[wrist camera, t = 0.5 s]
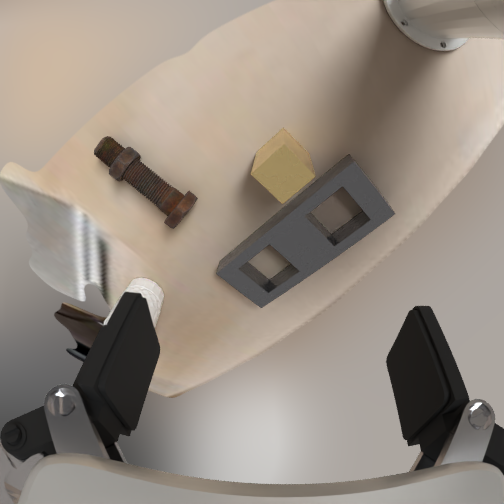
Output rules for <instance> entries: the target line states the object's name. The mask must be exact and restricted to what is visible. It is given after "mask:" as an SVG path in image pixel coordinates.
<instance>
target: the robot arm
mask: <svg viewBox="0 0 504 504" xmlns="http://www.w3.org/2000/svg"><path fill="white" fill-rule="evenodd" d="M383 1H384V5H385V7H386V10H387V12H388V14H389V16H390V17H391V19H392V21H393V22H394V23H395V24H396V26H397V27H398V28H399V29H400V30H401V31H402V32H403V33H404V34H405V35H406V36H407V37H408V38H410V39H411V40H413V41H414V42H416V43H417V44H419V45H421V46H423V47H426V48H429V49H432V50H438V51H449V50H454V49H457V48H459V47H461V46H462V45H464V44H465V43H466V42H467V40H468V39H469V38H490V39H504V0H383ZM401 22H402V23H403V25H402V24H401ZM440 43H441V45H440ZM159 354H160V345H159V342H158V338H157V335H156V332H155V328H154V325H153V321H152V318H151V314H150V310H149V307H148V303H147V300H146V298H143V297H142V294H141V293H134V292H124V293H123V295H122V297H121V298H120V300H119V302H118V304H117V306H116V308H115V309H114V311H113V313H112V315H111V317H110V319H109V321H108V322H107V324H106V325H104V326H103V327H102V328H101V329H100V331H99V333H98V335H97V337H96V339H95V341H94V343H93V345H92V347H91V349H90V351H89V353H88V355H87V357H86V359H85V361H84V363H83V365H82V367H81V369H80V371H79V373H78V375H77V378H76V380H75V382H74V384H73V386H71V385H68V384H61V385H57V386H55V387H53V388H52V389H51V390H50V391H49V392H48V393H47V395H46V397H45V399H44V406H42V407H40V408H38V409H35V410H33V411H31V412H29V413H27V414H24V415H22V416H20V417H17V418H15V419H13V420H11V421H9V422H7V423H6V424H5V426H4V427H3V429H2V431H1V439H0V504H504V429H503V428H502V427H500V426H499V425H497V424H495V414H494V411H493V409H492V407H491V406H490V405H489V404H488V403H487V402H486V401H484V400H480V399H475V400H472V401H470V400H469V396H468V393H467V390H466V388H465V385H464V382H463V380H462V377H461V374H460V372H459V369H458V367H457V365H456V362H455V359H454V357H453V355H452V352H451V350H450V348H449V346H448V343H447V341H446V339H445V336H444V334H443V332H442V330H441V327H440V325H439V323H438V321H437V319H436V317H435V315H434V313H433V310H432V309H431V307H430V306H415V307H414V308H413V310H410V311H409V313H408V315H407V317H406V319H405V321H404V324H403V326H402V328H401V330H400V332H399V334H398V336H397V338H396V340H395V342H394V344H393V346H392V348H391V350H390V352H389V354H388V356H387V361H386V363H387V368H388V372H389V376H390V380H391V384H392V388H393V392H394V396H395V400H396V405H397V410H398V415H399V419H400V424H401V429H402V434H403V438H404V439H405V440H407V442H408V446H412V445H417V444H420V448H421V452H420V454H419V455H418V457H417V459H416V461H415V463H414V464H413V466H412V467H411V469H410V471H409V472H407V473H402V474H396V475H391V476H385V477H379V478H372V479H365V480H357V481H347V482H336V483H321V484H255V483H239V482H228V481H219V480H210V479H203V478H196V477H189V476H183V475H178V474H172V473H167V472H162V471H157V470H152V469H148V468H143V467H139V466H135V465H130V464H127V462H126V460H125V458H124V456H123V454H122V452H121V450H120V448H119V446H118V444H117V441H118V437H119V435H120V434H122V435H126V436H130V433H131V430H135V429H136V427H137V424H138V421H139V417H140V414H141V411H142V407H143V404H144V401H145V398H146V395H147V391H148V388H149V385H150V382H151V379H152V376H153V373H154V370H155V367H156V364H157V361H158V358H159Z"/></svg>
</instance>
